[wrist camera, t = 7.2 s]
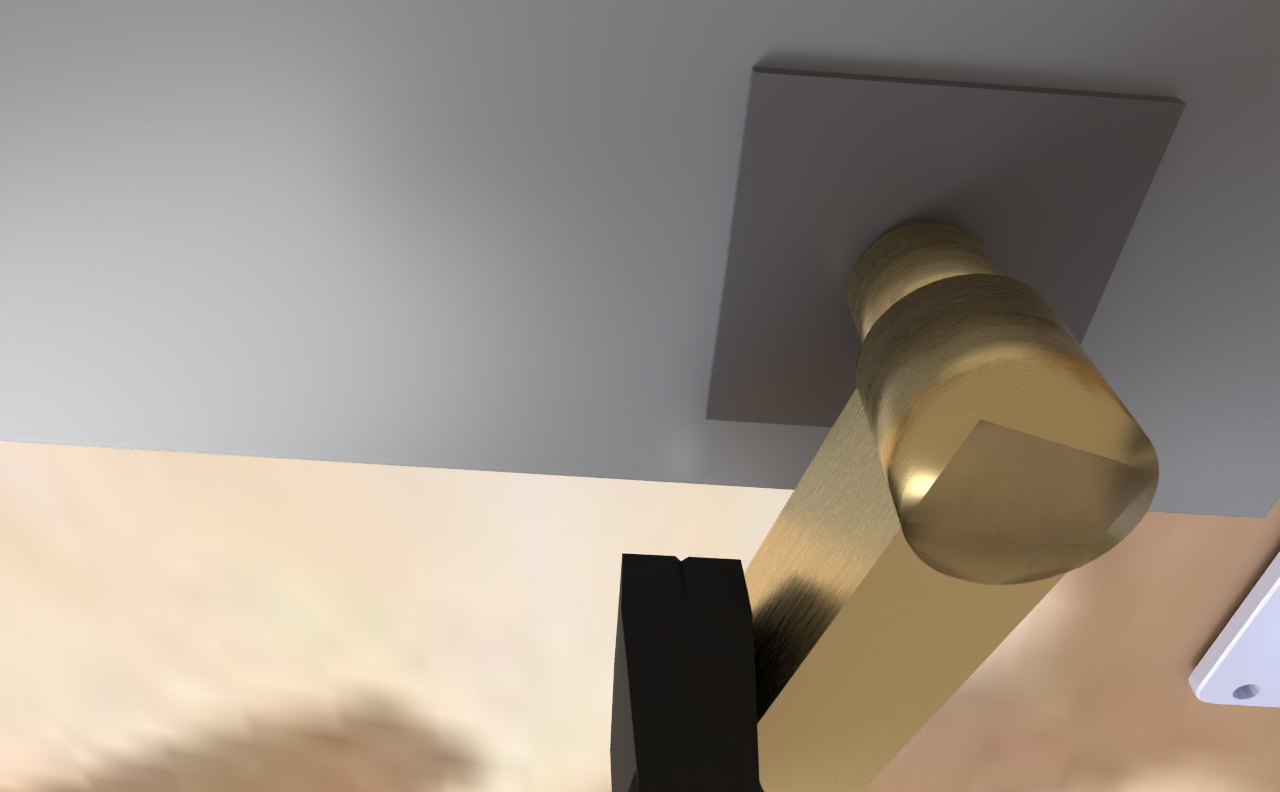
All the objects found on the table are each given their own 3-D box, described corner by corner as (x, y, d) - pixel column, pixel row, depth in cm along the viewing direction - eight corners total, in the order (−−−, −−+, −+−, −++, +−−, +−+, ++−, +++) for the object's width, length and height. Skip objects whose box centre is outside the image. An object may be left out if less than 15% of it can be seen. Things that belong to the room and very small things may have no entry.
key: (880, 179, 9) (986, 371, 6) (1044, 236, 9) (1215, 441, 6) (665, 587, 13) (666, 823, 10) (786, 616, 13) (822, 853, 10)
